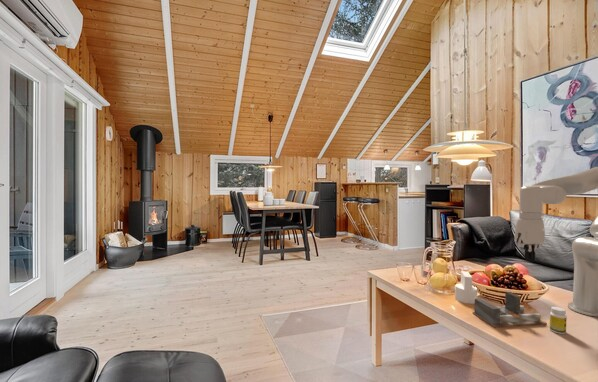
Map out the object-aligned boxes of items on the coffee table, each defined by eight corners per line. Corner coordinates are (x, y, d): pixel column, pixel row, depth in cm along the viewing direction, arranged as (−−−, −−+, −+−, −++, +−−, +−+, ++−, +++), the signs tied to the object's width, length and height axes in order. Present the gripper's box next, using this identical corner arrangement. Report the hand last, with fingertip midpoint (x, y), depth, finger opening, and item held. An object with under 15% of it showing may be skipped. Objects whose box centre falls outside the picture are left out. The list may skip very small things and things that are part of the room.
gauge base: (520, 311, 129) (520, 295, 129) (546, 324, 117) (547, 307, 117) (472, 313, 126) (473, 297, 126) (494, 327, 114) (495, 310, 114)
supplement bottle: (567, 335, 108) (568, 312, 108) (550, 332, 111) (551, 309, 111) (564, 330, 113) (565, 307, 112) (548, 326, 115) (549, 305, 115)
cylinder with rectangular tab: (479, 304, 135) (480, 278, 135) (456, 302, 138) (457, 276, 138) (474, 297, 144) (475, 272, 143) (453, 294, 147) (454, 270, 146)
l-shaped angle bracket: (508, 313, 125) (509, 291, 124) (527, 323, 116) (528, 300, 115) (489, 314, 124) (490, 292, 123) (507, 324, 115) (508, 301, 114)
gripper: (537, 214, 129) (536, 257, 129) (506, 215, 126) (506, 259, 127) (555, 216, 121) (554, 262, 122) (522, 218, 119) (521, 264, 120)
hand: (529, 260), depth 125 cm, fingers closed
